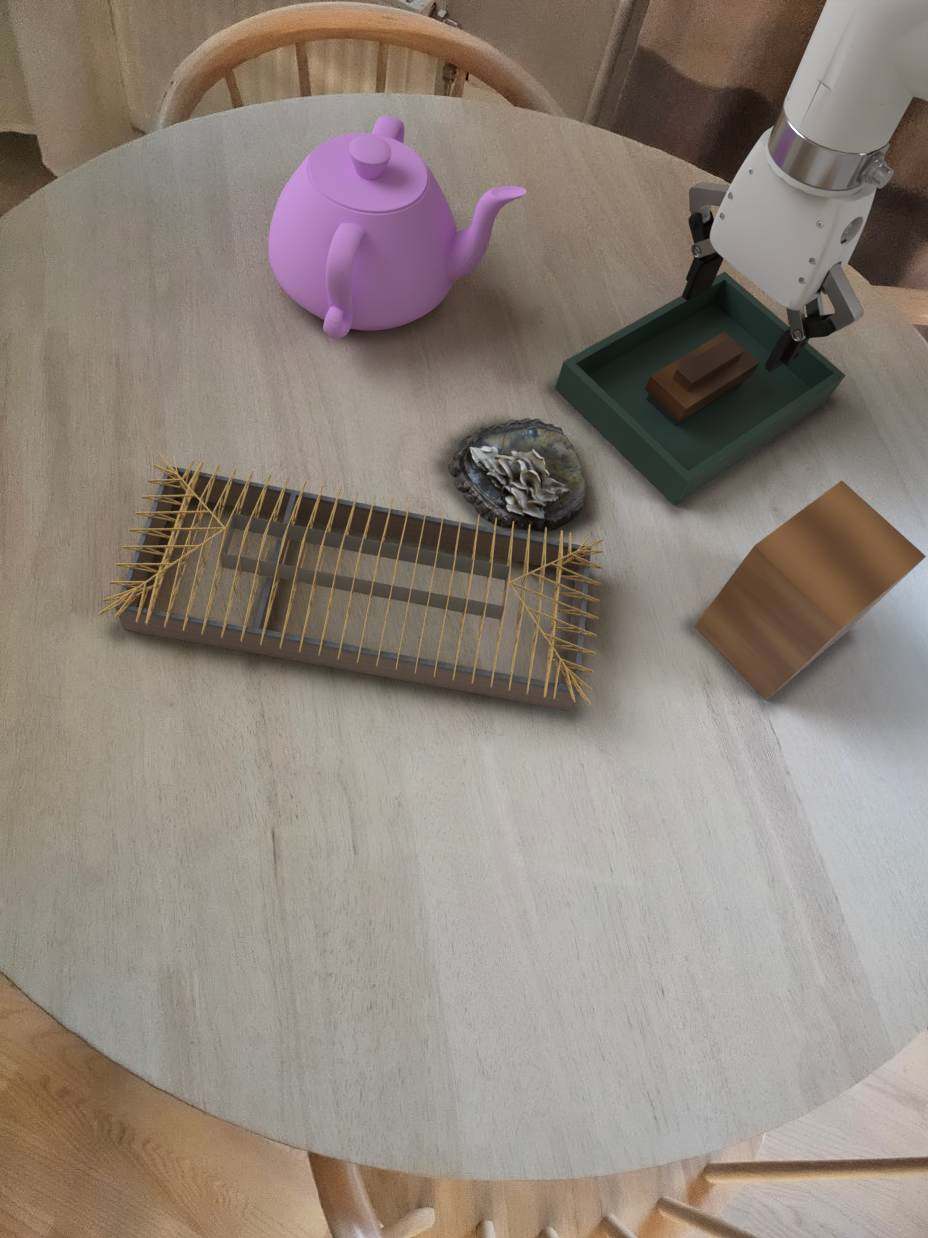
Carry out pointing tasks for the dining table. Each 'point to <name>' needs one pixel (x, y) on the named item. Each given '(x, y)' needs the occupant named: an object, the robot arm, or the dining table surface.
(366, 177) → the teapot
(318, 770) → the dining table surface
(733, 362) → the brush
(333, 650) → the rafter model
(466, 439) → the log
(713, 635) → the stand
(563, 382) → the tray
